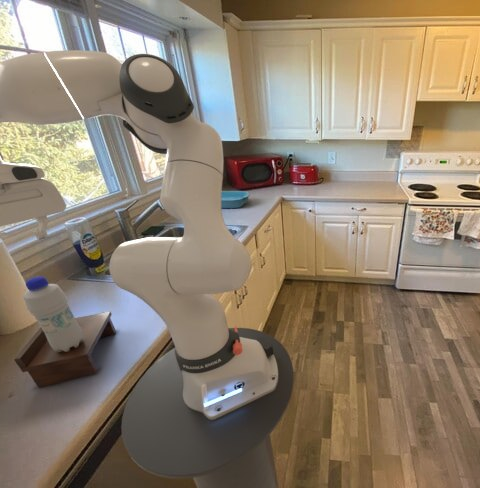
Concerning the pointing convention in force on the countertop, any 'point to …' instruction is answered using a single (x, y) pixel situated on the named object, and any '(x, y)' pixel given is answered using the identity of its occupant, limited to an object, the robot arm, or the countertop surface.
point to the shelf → (64, 353)
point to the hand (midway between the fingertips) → (11, 247)
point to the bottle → (53, 314)
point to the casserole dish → (233, 199)
